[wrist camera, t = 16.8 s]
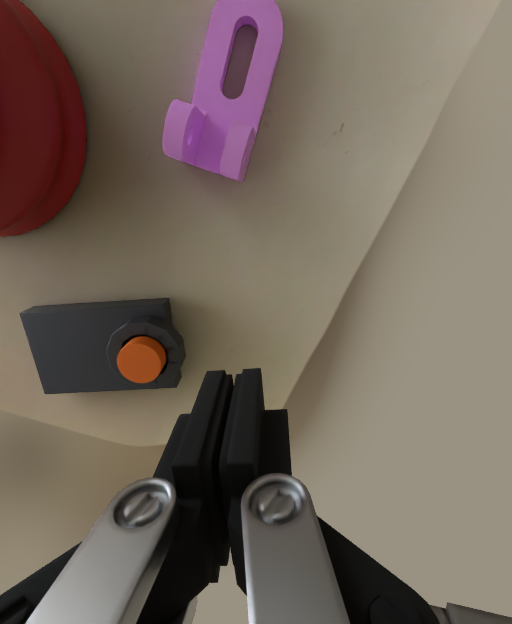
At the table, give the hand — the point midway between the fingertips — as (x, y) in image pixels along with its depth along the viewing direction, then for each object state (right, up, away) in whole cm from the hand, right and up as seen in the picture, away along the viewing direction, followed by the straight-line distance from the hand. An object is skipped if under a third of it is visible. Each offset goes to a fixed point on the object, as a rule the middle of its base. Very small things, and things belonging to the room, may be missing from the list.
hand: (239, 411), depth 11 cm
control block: (-15, 0, +25) cm, 29 cm away
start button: (-10, -1, +21) cm, 24 cm away
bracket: (-1, +21, +17) cm, 28 cm away
